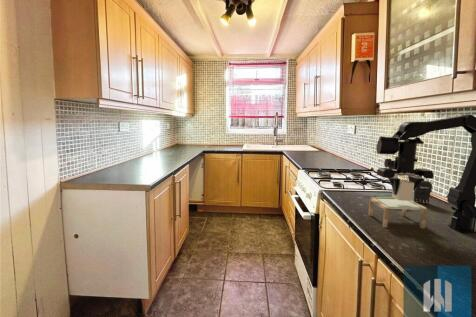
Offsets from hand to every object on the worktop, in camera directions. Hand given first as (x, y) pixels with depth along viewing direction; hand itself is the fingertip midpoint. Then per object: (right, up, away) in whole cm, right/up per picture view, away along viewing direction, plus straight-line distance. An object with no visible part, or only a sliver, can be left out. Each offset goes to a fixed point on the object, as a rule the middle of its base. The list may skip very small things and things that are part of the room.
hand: (402, 194), depth 106 cm
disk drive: (+10, -9, +28) cm, 31 cm away
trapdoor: (0, -5, +3) cm, 6 cm away
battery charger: (+26, -8, +28) cm, 40 cm away
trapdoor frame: (0, -12, +4) cm, 12 cm away
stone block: (0, -2, 0) cm, 2 cm away
